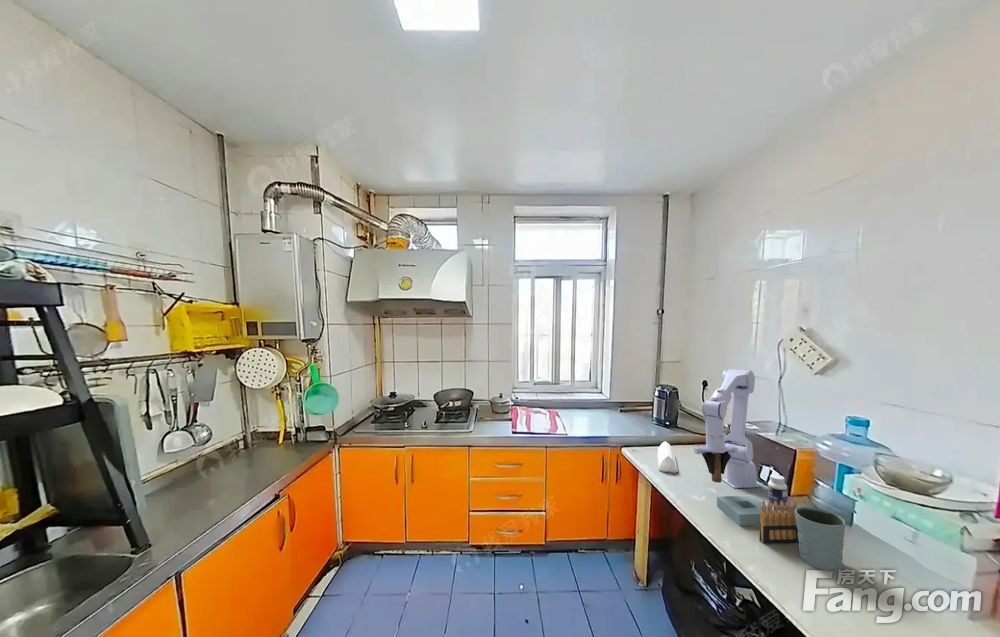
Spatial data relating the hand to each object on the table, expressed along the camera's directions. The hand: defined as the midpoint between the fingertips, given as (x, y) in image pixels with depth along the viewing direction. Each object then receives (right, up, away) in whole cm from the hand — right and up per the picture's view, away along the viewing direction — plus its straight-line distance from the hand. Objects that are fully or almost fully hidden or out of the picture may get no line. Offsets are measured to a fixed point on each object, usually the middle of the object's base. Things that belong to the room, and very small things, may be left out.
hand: (716, 473), depth 135 cm
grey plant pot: (+8, -9, -35) cm, 37 cm away
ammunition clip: (+4, -9, -26) cm, 28 cm away
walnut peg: (0, -3, 0) cm, 3 cm away
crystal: (-2, -10, +35) cm, 36 cm away
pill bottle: (+18, -9, -5) cm, 21 cm away
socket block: (+3, -9, -11) cm, 15 cm away
